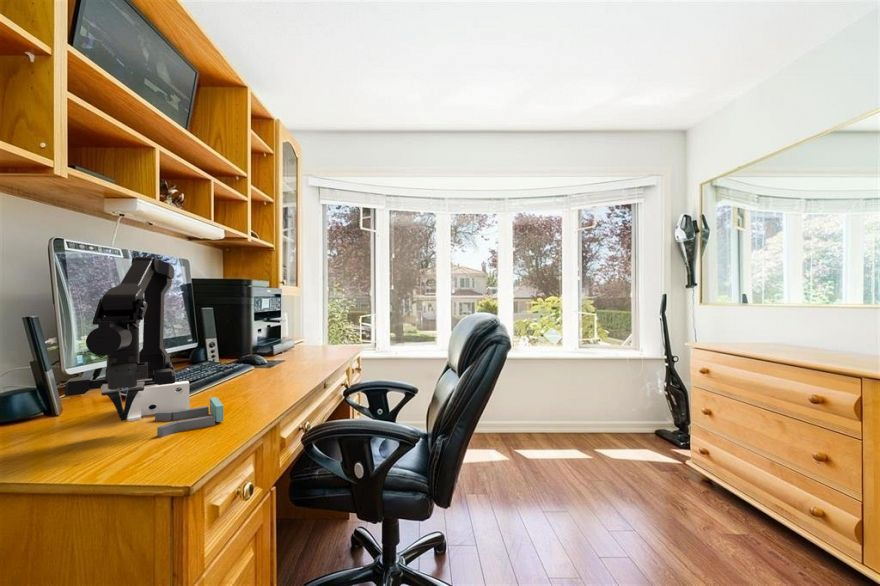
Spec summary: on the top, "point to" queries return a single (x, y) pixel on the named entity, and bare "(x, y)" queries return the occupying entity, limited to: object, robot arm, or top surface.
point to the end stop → (216, 409)
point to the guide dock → (183, 424)
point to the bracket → (159, 399)
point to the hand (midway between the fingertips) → (123, 420)
